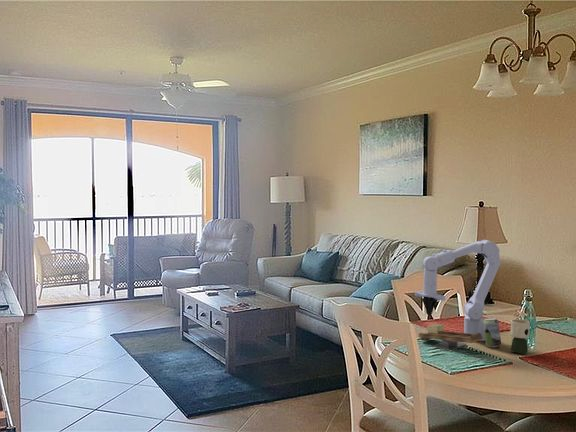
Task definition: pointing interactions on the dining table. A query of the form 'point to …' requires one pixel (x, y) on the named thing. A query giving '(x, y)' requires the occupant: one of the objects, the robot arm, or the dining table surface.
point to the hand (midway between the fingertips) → (429, 314)
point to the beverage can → (492, 332)
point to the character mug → (520, 335)
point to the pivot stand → (449, 345)
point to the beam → (452, 337)
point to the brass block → (435, 329)
